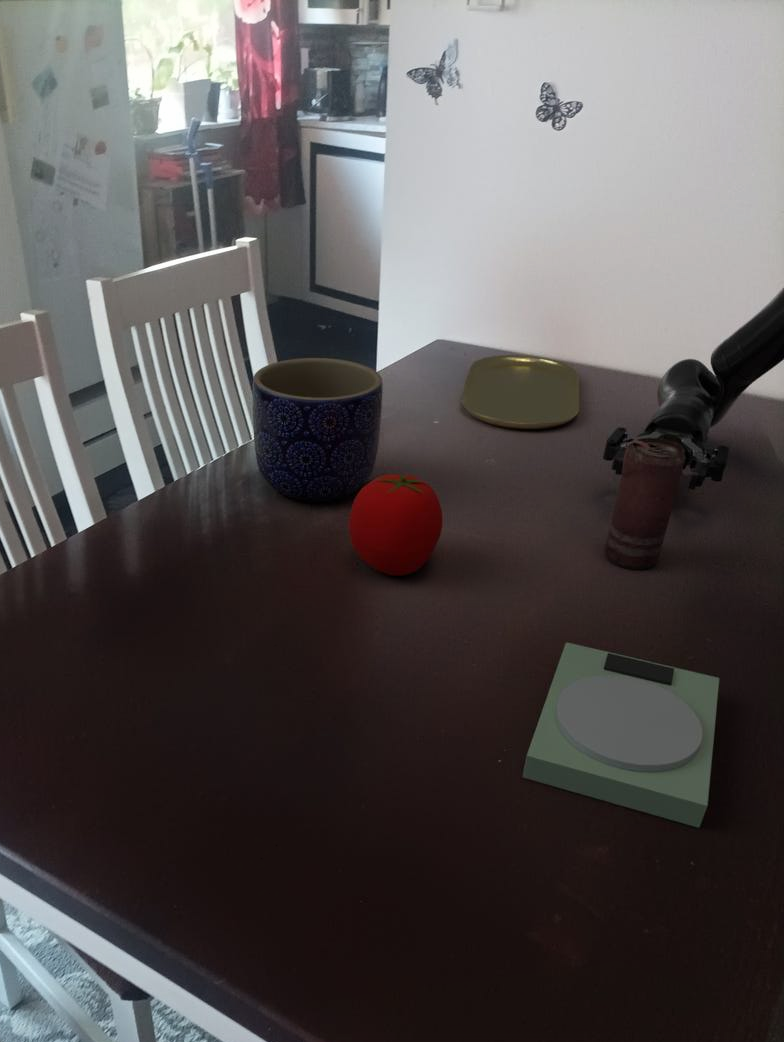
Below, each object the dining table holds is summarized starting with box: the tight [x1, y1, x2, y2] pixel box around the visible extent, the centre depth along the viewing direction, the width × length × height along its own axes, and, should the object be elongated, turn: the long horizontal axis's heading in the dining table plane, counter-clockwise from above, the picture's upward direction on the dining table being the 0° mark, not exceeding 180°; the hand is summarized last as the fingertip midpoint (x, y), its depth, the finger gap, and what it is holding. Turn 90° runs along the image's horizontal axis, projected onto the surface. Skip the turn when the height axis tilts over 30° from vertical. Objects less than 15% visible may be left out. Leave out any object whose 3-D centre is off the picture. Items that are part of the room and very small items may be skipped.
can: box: [604, 438, 685, 571], centre depth 102 cm, size 6×6×14 cm
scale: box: [522, 641, 720, 829], centre depth 79 cm, size 18×14×3 cm
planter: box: [252, 357, 383, 503], centre depth 118 cm, size 17×16×15 cm
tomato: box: [348, 473, 443, 577], centre depth 101 cm, size 10×11×11 cm
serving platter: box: [460, 354, 580, 431], centre depth 152 cm, size 19×35×2 cm, turn 166°
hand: (655, 474), depth 108 cm, fingers open, 8 cm apart
